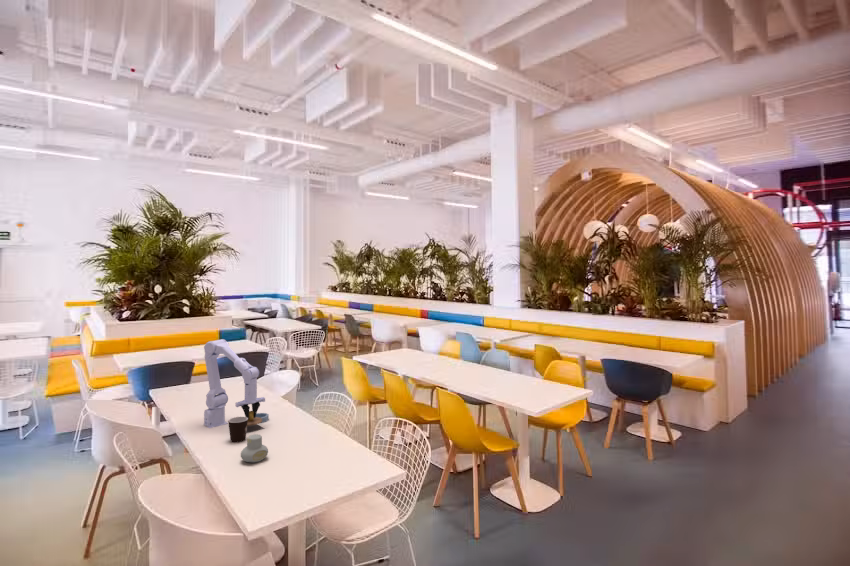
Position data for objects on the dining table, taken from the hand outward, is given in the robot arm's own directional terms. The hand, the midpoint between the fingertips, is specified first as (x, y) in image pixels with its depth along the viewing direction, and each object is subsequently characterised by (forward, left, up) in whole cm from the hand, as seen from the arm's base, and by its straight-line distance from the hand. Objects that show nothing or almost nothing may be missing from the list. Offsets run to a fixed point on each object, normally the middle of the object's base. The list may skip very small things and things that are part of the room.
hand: (250, 418), depth 224 cm
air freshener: (-14, -37, -6) cm, 40 cm away
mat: (0, 0, -6) cm, 6 cm away
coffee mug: (-9, -10, -6) cm, 15 cm away
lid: (0, 0, -2) cm, 2 cm away
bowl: (+9, +8, -6) cm, 13 cm away
